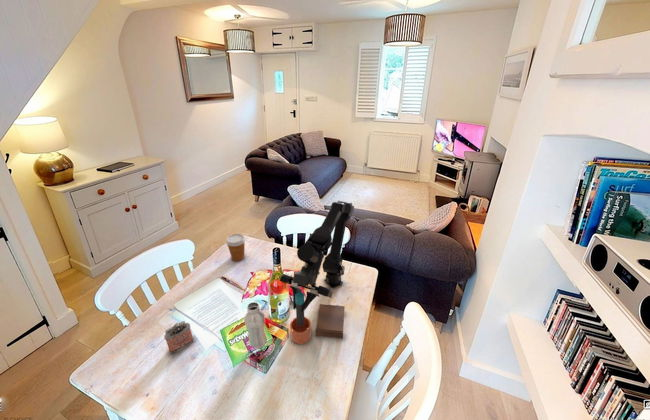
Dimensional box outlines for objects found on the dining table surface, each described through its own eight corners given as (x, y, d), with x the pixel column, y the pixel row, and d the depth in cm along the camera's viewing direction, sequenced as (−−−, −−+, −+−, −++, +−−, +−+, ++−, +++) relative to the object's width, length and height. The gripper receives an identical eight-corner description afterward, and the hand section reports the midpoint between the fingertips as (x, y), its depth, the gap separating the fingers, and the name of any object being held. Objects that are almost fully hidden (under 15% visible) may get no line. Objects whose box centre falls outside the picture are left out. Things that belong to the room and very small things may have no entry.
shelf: (319, 311, 110) (319, 303, 108) (344, 313, 109) (344, 306, 107) (315, 336, 99) (315, 328, 97) (342, 339, 98) (343, 331, 96)
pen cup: (304, 323, 104) (304, 313, 101) (314, 337, 98) (314, 326, 96) (287, 332, 100) (286, 322, 98) (296, 347, 94) (296, 336, 92)
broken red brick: (192, 335, 98) (186, 315, 94) (195, 341, 96) (190, 321, 92) (168, 349, 93) (160, 329, 89) (171, 356, 91) (164, 335, 86)
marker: (302, 318, 98) (301, 290, 93) (306, 323, 96) (305, 296, 90) (294, 321, 97) (293, 294, 91) (298, 327, 94) (297, 299, 89)
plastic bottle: (264, 359, 90) (259, 315, 82) (245, 355, 91) (238, 312, 83) (271, 342, 96) (267, 300, 87) (253, 339, 97) (247, 297, 88)
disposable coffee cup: (225, 261, 138) (221, 242, 133) (234, 251, 147) (231, 232, 141) (242, 264, 137) (239, 244, 132) (250, 253, 145) (248, 234, 140)
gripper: (280, 255, 93) (264, 300, 88) (330, 269, 86) (315, 319, 82) (292, 261, 103) (278, 302, 98) (338, 274, 96) (325, 319, 91)
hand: (298, 310), depth 92 cm, fingers closed on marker, 3 cm apart
